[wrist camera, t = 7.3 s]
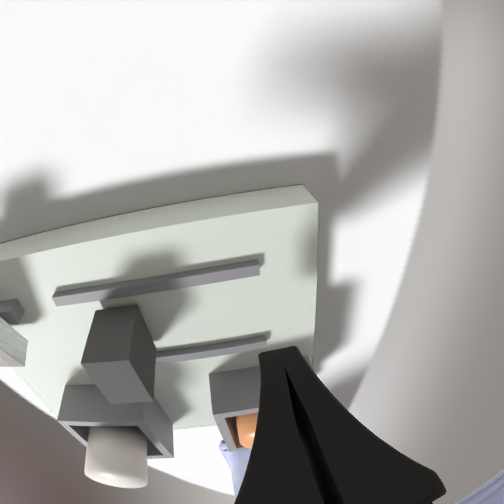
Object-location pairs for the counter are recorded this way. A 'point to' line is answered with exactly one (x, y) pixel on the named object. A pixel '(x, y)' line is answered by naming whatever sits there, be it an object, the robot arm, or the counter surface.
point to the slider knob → (121, 355)
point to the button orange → (246, 429)
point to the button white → (117, 456)
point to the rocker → (12, 346)
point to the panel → (168, 306)
